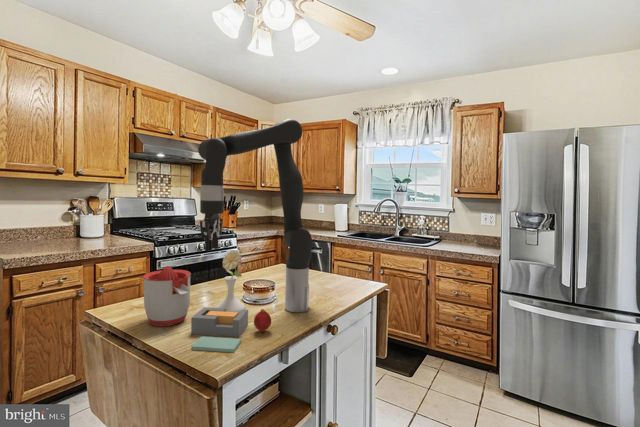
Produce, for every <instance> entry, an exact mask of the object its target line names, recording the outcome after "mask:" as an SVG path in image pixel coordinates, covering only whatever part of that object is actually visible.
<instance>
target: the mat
mask: <svg viewBox="0 0 640 427" xmlns="http://www.w3.org/2000/svg"><path fill="white" fill-rule="evenodd" d="M241 343H242V338H235V337H234V338H233V337H217V336H216V337H215V336H205V335H204V336H200V337H199V338H198V339H197V340H196V341H195V342H193V344H192V345H191V347H190V348H191V350H192V351H193V350H194V351H205V352H218V353H219V352H222V353H235V351H236V350H238V347H239V346H240V345H241Z"/></svg>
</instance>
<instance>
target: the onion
mask: <svg viewBox="0 0 640 427" xmlns="http://www.w3.org/2000/svg"><path fill="white" fill-rule="evenodd" d="M271 324H272V317H271V315H270V314H269V313H268V312H267V311H266V310H265V309H264V308H261V309H260V311H258V312H257V313H256V314H255V316H254V318H253V325H254V327H255V329H257V330H258V331H259V332H261V333H264V332H265V331H267V330H268V329H269V328H270V326H271Z"/></svg>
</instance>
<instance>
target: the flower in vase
mask: <svg viewBox="0 0 640 427" xmlns="http://www.w3.org/2000/svg"><path fill="white" fill-rule="evenodd" d="M241 258H242V256H241V253H240V252H239V251H237V250H235V249H234V250H230V251H228V252H227V253H226V254H224V257H223V258H222V268H223V269H225V271H226V272H227V273H229V274H230V275H231V276H230V275H229V276H225V277H224V278H223V279H224V280H225V281H226V285H227V296H226V297H225V298H224V299H223V300H222V301H220V302H219V303H218V304H217V305H216V306H215V308H226V312H238V314H239V313H240V312H241V311H242V310H243V309H244V310H246V306H245V304H244V303H243V302H242V300H239V298H237V297H236V296H235V291H234V290H235V284H236V281H237V279H238V278H239V277H242V273H241V271H240V270H239V269H238V270H237V266H239V265H240V264H239V263H240V262H241V261H242V260H241ZM234 269H235V270H234ZM231 270H234V272H233V271H231Z"/></svg>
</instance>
